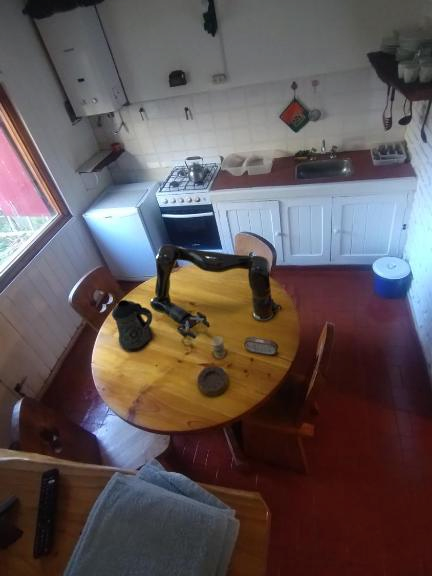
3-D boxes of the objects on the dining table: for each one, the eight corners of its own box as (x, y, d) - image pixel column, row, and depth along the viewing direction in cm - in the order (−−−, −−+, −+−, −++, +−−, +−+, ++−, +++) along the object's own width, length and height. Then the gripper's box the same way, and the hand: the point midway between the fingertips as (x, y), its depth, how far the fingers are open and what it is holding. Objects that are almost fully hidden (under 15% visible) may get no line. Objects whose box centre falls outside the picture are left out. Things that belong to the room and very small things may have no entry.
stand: (218, 367, 153) (217, 361, 150) (233, 386, 144) (231, 381, 141) (195, 380, 149) (193, 375, 147) (208, 401, 140) (206, 396, 138)
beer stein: (118, 334, 178) (100, 299, 163) (154, 320, 182) (140, 284, 167) (124, 357, 166) (106, 321, 150) (162, 341, 170) (148, 304, 154)
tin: (278, 351, 154) (278, 339, 149) (277, 357, 152) (276, 345, 146) (246, 346, 159) (244, 334, 154) (244, 351, 157) (242, 339, 152)
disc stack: (222, 347, 161) (219, 334, 155) (227, 354, 157) (224, 341, 152) (212, 352, 159) (209, 340, 154) (217, 360, 156) (214, 347, 150)
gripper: (167, 319, 164) (189, 335, 153) (189, 302, 170) (212, 316, 160) (170, 329, 168) (192, 346, 158) (192, 313, 175) (214, 327, 165)
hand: (202, 331), depth 159 cm, fingers open, 8 cm apart
